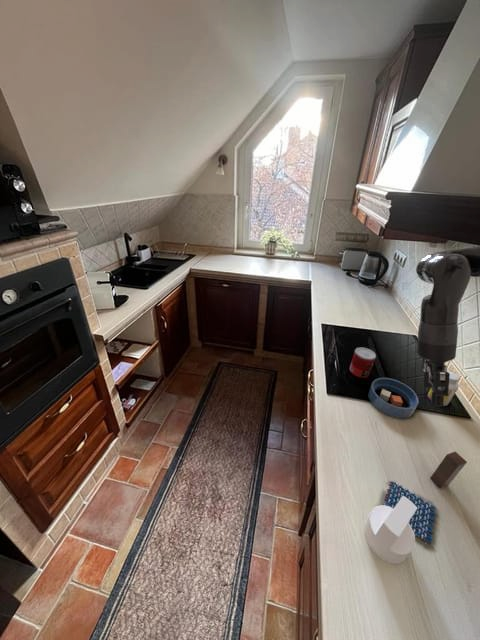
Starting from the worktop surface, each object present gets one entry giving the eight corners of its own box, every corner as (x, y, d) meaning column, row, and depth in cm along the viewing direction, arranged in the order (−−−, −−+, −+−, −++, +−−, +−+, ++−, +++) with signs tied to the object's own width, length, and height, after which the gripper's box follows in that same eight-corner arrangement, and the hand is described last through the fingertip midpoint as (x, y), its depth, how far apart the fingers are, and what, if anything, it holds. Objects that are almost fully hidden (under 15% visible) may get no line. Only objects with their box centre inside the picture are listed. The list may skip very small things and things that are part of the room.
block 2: (397, 402, 95) (400, 396, 93) (400, 408, 92) (403, 402, 90) (388, 400, 95) (391, 394, 94) (391, 406, 93) (393, 401, 91)
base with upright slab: (374, 508, 64) (389, 483, 58) (412, 545, 58) (433, 520, 52) (354, 534, 60) (369, 509, 54) (393, 577, 53) (414, 554, 47)
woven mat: (388, 481, 70) (390, 477, 69) (433, 509, 64) (436, 505, 63) (378, 514, 63) (380, 510, 62) (428, 549, 57) (431, 546, 56)
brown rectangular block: (436, 476, 72) (455, 451, 66) (446, 487, 69) (467, 462, 63) (428, 480, 71) (446, 454, 65) (438, 491, 68) (458, 465, 62)
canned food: (363, 382, 104) (371, 361, 98) (345, 372, 109) (351, 351, 104) (371, 374, 108) (379, 353, 103) (353, 364, 114) (360, 344, 108)
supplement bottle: (438, 394, 99) (453, 368, 93) (451, 407, 94) (468, 381, 87) (422, 394, 99) (435, 369, 92) (434, 408, 93) (449, 382, 87)
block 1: (388, 398, 96) (391, 392, 95) (387, 402, 94) (389, 397, 93) (380, 394, 98) (382, 388, 96) (378, 399, 96) (380, 393, 94)
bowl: (411, 396, 98) (416, 386, 95) (414, 426, 86) (420, 415, 83) (368, 383, 104) (372, 373, 101) (366, 409, 92) (370, 398, 89)
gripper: (467, 350, 53) (460, 415, 58) (447, 327, 66) (442, 382, 70) (424, 349, 57) (420, 410, 61) (412, 327, 69) (410, 380, 73)
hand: (432, 395), depth 66 cm, fingers open, 8 cm apart
